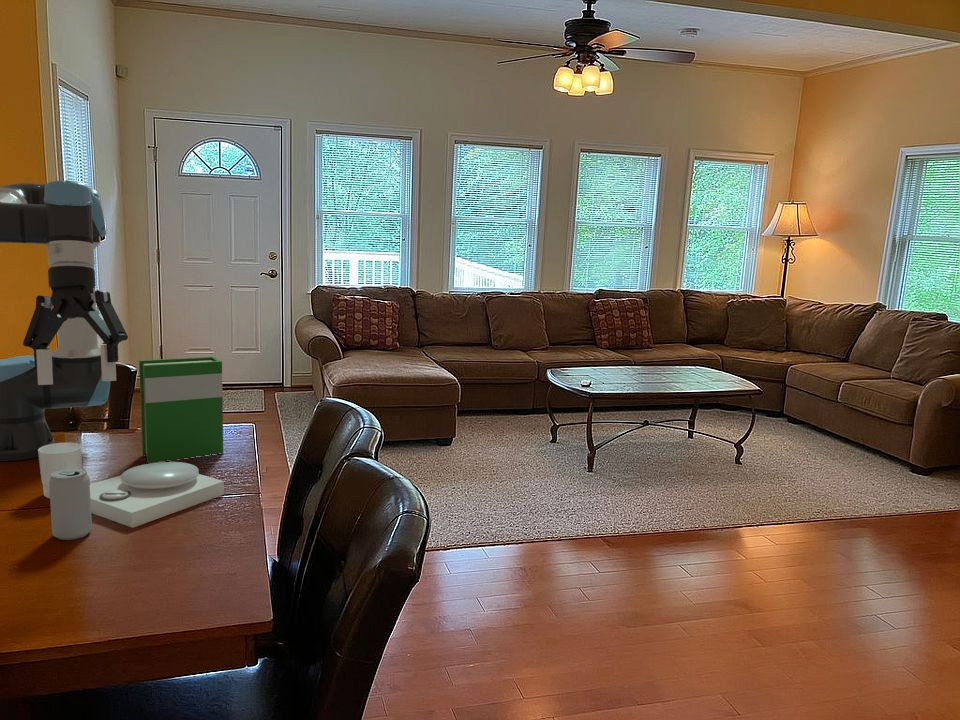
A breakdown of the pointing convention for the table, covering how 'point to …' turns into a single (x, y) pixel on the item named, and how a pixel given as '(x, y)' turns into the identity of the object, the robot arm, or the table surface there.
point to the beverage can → (70, 503)
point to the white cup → (57, 460)
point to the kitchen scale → (152, 492)
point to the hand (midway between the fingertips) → (77, 383)
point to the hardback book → (181, 408)
